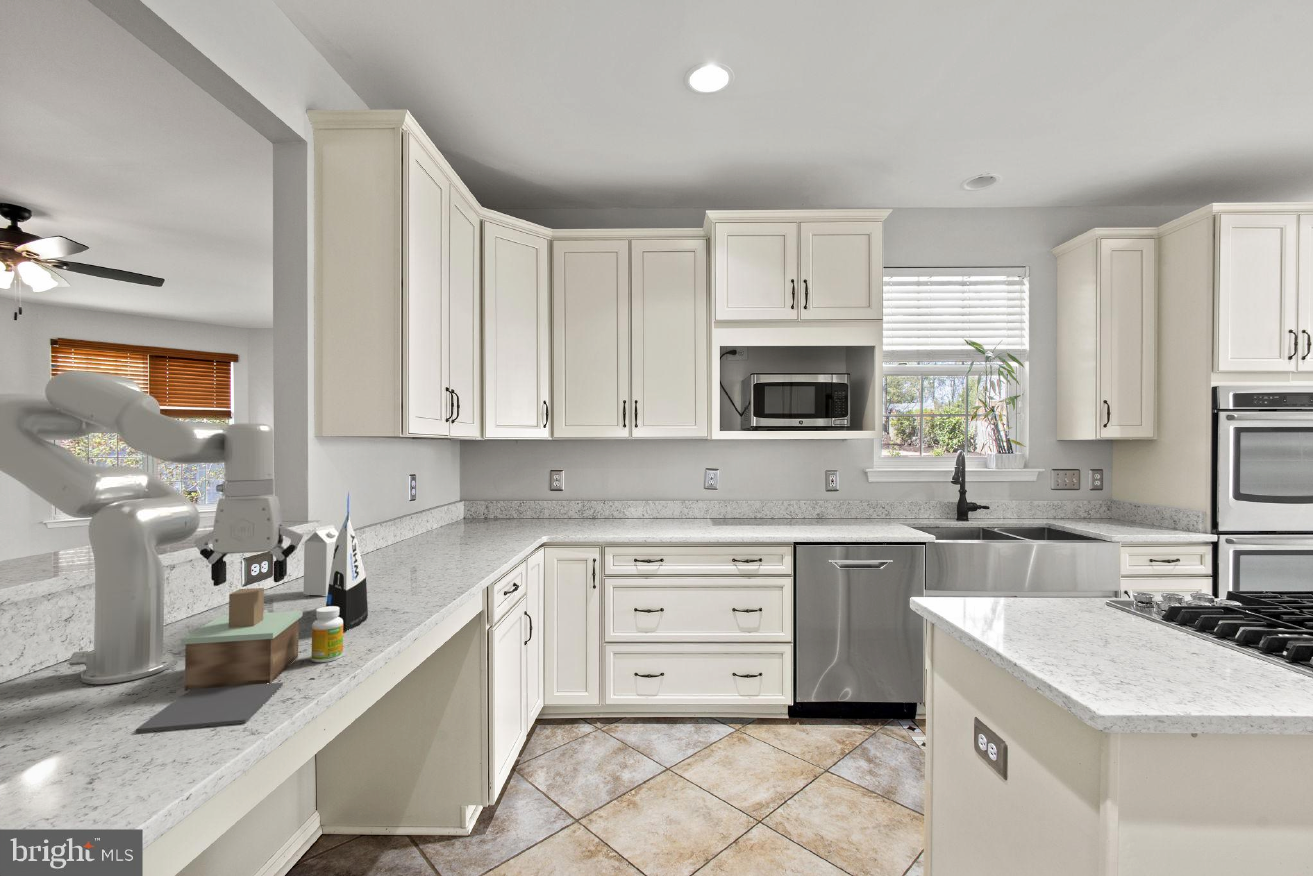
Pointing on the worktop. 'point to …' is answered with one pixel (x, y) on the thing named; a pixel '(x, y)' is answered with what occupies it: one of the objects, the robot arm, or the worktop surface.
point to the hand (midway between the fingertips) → (249, 582)
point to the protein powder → (348, 578)
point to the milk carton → (319, 560)
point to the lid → (243, 621)
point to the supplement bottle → (327, 635)
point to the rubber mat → (211, 707)
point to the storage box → (240, 661)
